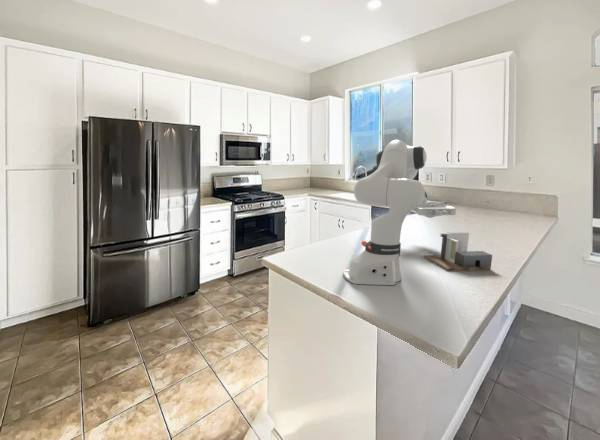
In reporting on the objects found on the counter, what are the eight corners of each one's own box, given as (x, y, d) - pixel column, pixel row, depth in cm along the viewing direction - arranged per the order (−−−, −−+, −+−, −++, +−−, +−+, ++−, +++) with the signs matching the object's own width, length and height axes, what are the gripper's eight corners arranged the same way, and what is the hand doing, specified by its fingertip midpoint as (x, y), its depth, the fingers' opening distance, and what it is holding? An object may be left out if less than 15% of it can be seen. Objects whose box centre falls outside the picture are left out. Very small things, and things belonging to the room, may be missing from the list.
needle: (441, 259, 145) (444, 234, 143) (440, 258, 146) (442, 233, 144) (444, 259, 145) (447, 234, 143) (443, 258, 146) (445, 233, 144)
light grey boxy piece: (451, 263, 138) (453, 238, 136) (435, 255, 149) (438, 232, 147) (481, 262, 140) (484, 237, 138) (464, 254, 151) (466, 232, 149)
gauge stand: (447, 271, 133) (450, 245, 131) (423, 257, 152) (425, 234, 150) (490, 269, 136) (493, 244, 134) (462, 256, 155) (464, 234, 153)
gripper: (411, 203, 170) (425, 207, 156) (446, 203, 173) (463, 207, 159) (410, 215, 171) (424, 219, 157) (445, 214, 174) (461, 219, 160)
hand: (444, 213), depth 158 cm, fingers closed
